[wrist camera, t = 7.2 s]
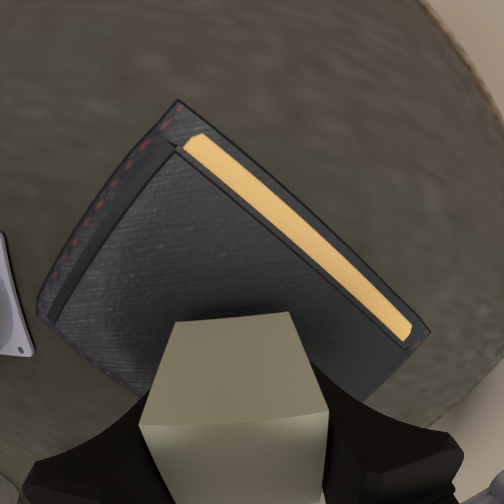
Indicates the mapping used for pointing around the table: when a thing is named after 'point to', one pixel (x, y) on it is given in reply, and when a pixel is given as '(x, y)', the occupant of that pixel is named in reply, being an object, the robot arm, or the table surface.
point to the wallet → (216, 265)
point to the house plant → (8, 492)
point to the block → (237, 414)
